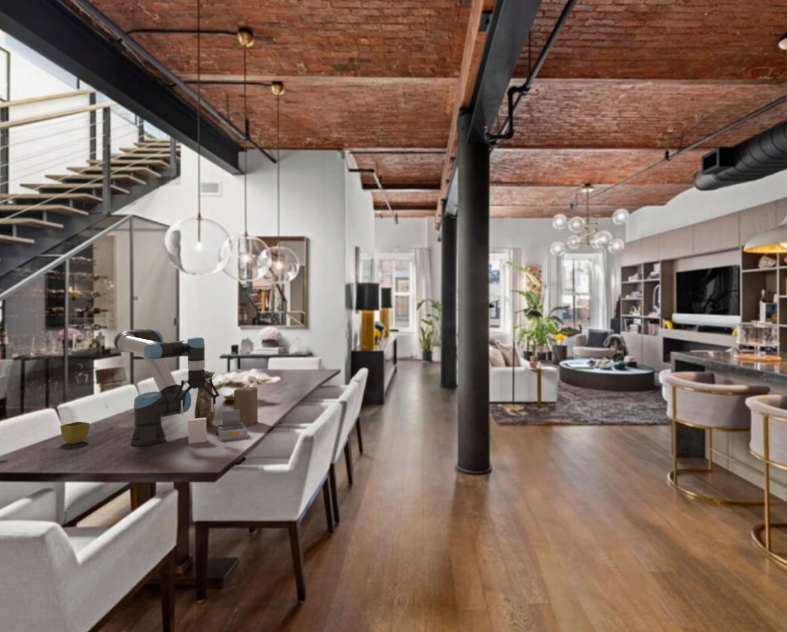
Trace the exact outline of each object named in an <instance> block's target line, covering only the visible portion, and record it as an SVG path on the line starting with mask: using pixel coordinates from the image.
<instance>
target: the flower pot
mask: <svg viewBox="0 0 787 632" xmlns="http://www.w3.org/2000/svg"><path fill="white" fill-rule="evenodd" d="M59 427H60V431H61V432H60V433H61V437H62V439H63V441H64V442H65V443H66V444H72V445H75V444H77V443H78V442H79V443H83V442H84V441H85V440H86V438H87V437H88V434H89V427H90V422H85V421H75V422H70V423H67V424H66V423H65V424H61V425H59Z"/></svg>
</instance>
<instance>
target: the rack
mask: <svg viewBox="0 0 787 632" xmlns="http://www.w3.org/2000/svg"><path fill="white" fill-rule="evenodd" d="M221 421H222V423H221V424H217V435H218V438H219V440H220V442H227V441H234V440H241V439H248V436H249V435H248V433H249V432H248V428H247V427H246V426H245V424H244V425H243V422H240V411H239V409H225V410H224V409H223V410H222V419H221Z"/></svg>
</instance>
